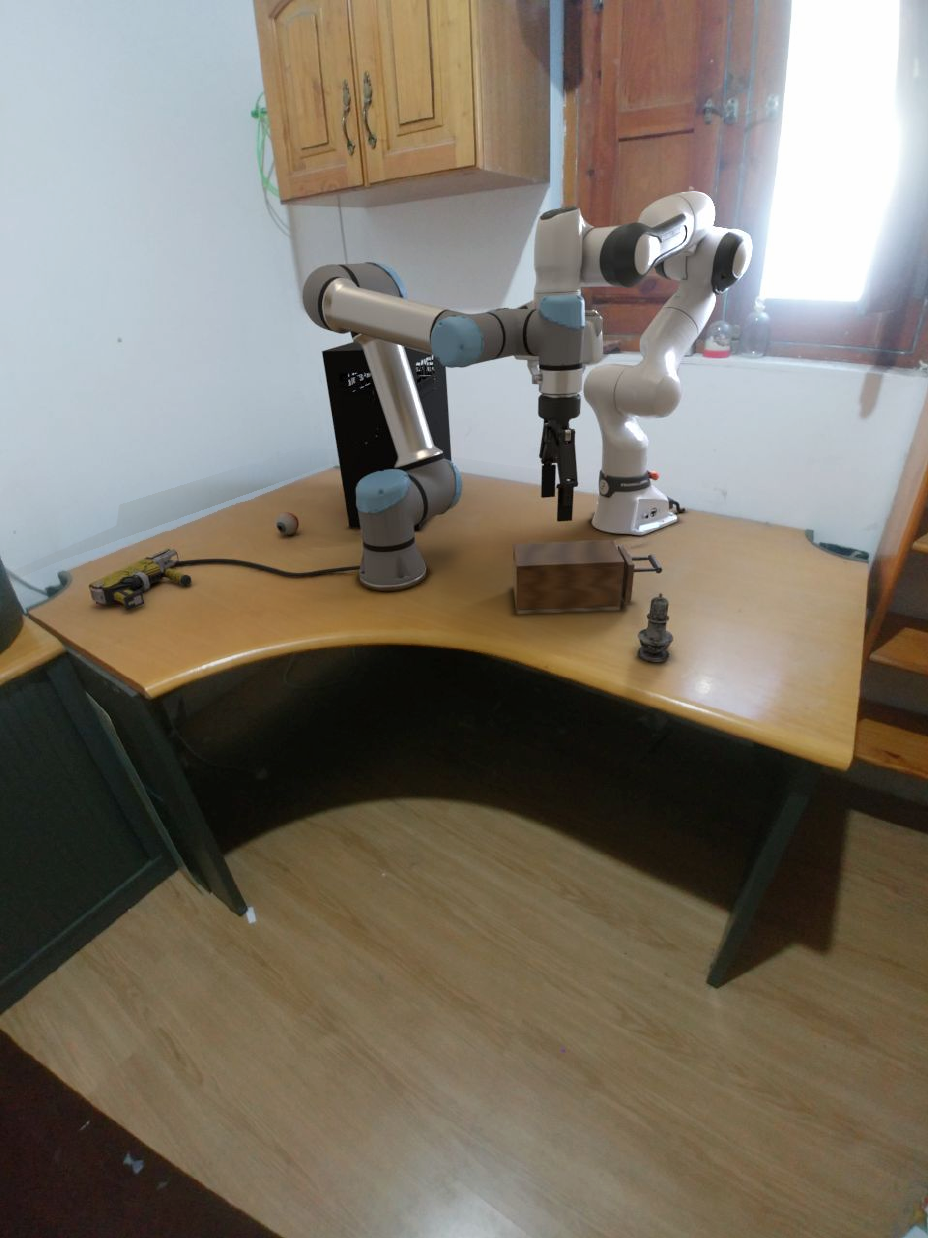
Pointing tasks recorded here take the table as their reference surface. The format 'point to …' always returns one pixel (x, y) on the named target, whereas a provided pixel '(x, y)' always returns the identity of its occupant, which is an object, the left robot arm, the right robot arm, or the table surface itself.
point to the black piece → (377, 415)
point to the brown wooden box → (567, 577)
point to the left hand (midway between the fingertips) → (555, 508)
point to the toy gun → (136, 580)
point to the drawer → (630, 570)
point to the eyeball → (287, 523)
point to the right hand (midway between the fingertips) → (555, 385)
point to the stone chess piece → (656, 632)
